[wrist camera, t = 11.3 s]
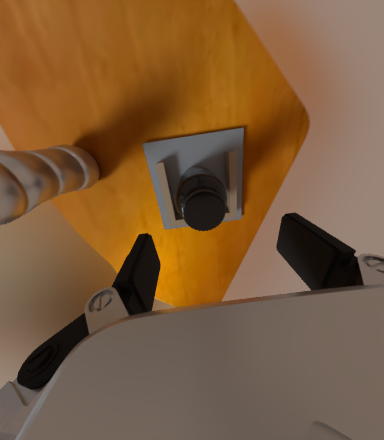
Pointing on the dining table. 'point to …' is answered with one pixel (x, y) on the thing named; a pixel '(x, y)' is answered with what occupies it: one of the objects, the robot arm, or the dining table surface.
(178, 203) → the supplement bottle
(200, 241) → the dining table surface
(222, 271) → the dining table surface
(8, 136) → the dining table surface
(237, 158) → the bottle stand
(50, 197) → the plastic bottle
